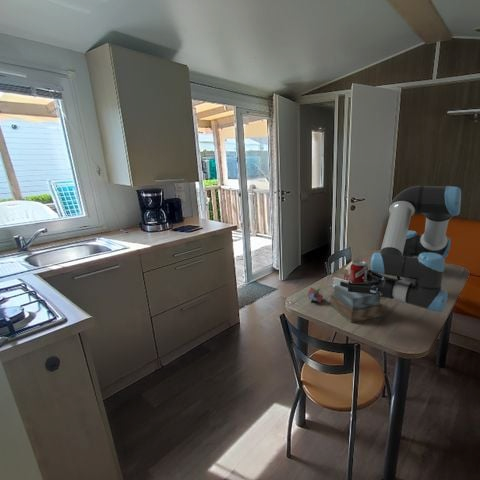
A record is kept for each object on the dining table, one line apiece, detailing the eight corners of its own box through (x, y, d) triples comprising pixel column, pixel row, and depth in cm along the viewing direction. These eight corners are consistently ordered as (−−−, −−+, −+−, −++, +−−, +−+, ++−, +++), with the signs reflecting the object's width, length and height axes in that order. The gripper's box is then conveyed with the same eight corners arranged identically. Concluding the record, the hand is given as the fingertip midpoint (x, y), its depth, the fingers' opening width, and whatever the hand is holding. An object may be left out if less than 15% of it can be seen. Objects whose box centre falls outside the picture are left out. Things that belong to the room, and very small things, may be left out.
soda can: (348, 291, 121) (350, 265, 118) (349, 284, 127) (350, 259, 124) (366, 293, 119) (368, 266, 115) (365, 286, 125) (368, 260, 121)
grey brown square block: (358, 299, 134) (360, 280, 132) (382, 315, 120) (384, 294, 118) (330, 305, 131) (331, 285, 128) (351, 322, 117) (352, 300, 114)
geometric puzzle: (329, 298, 133) (320, 282, 134) (321, 303, 128) (312, 287, 130) (318, 302, 138) (309, 287, 139) (310, 308, 133) (301, 292, 135)
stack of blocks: (354, 276, 160) (356, 255, 157) (366, 278, 156) (368, 257, 153) (342, 291, 143) (344, 268, 140) (355, 294, 140) (357, 270, 136)
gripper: (382, 311, 100) (326, 293, 114) (405, 287, 116) (353, 274, 131) (384, 292, 97) (327, 276, 112) (407, 270, 114) (355, 258, 129)
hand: (341, 275), depth 121 cm, fingers open, 13 cm apart
